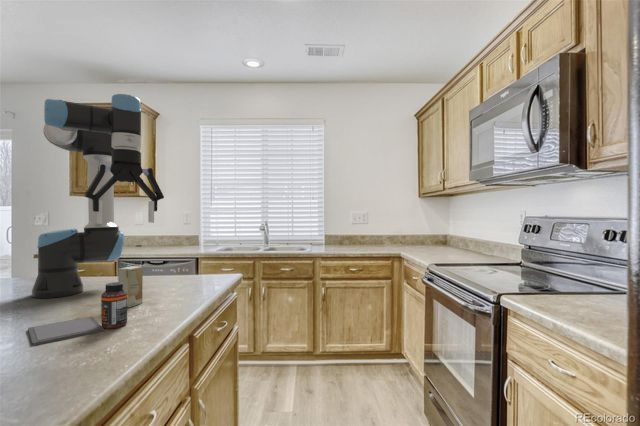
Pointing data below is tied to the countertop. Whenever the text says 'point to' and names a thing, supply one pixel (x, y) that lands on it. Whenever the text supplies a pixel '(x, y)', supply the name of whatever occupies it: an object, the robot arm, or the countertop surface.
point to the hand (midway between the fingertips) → (126, 223)
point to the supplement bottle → (114, 306)
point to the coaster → (63, 330)
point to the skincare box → (132, 283)
